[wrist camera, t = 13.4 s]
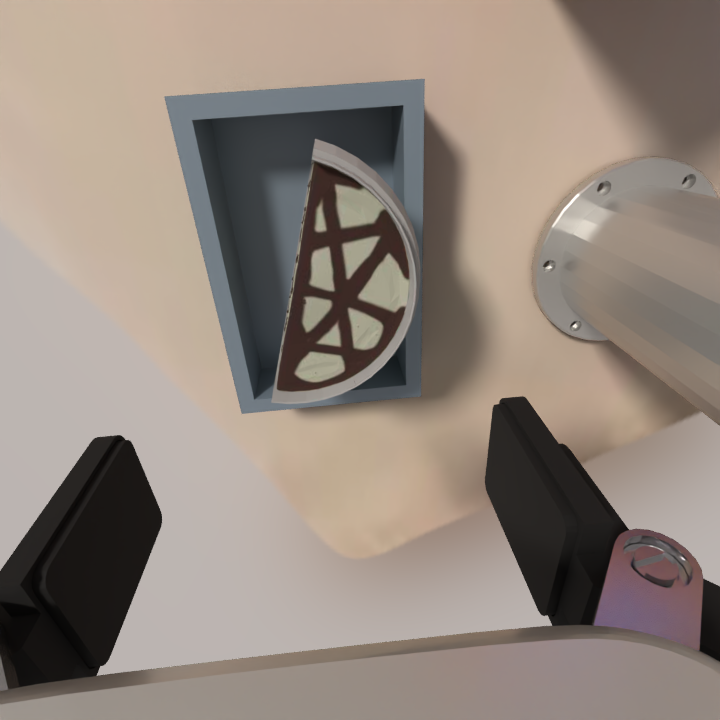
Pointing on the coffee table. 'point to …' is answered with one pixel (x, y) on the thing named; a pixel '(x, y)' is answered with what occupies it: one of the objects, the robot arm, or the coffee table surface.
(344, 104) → the bin
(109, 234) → the coffee table surface
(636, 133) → the coffee table surface
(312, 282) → the latticed semicircular wedge
